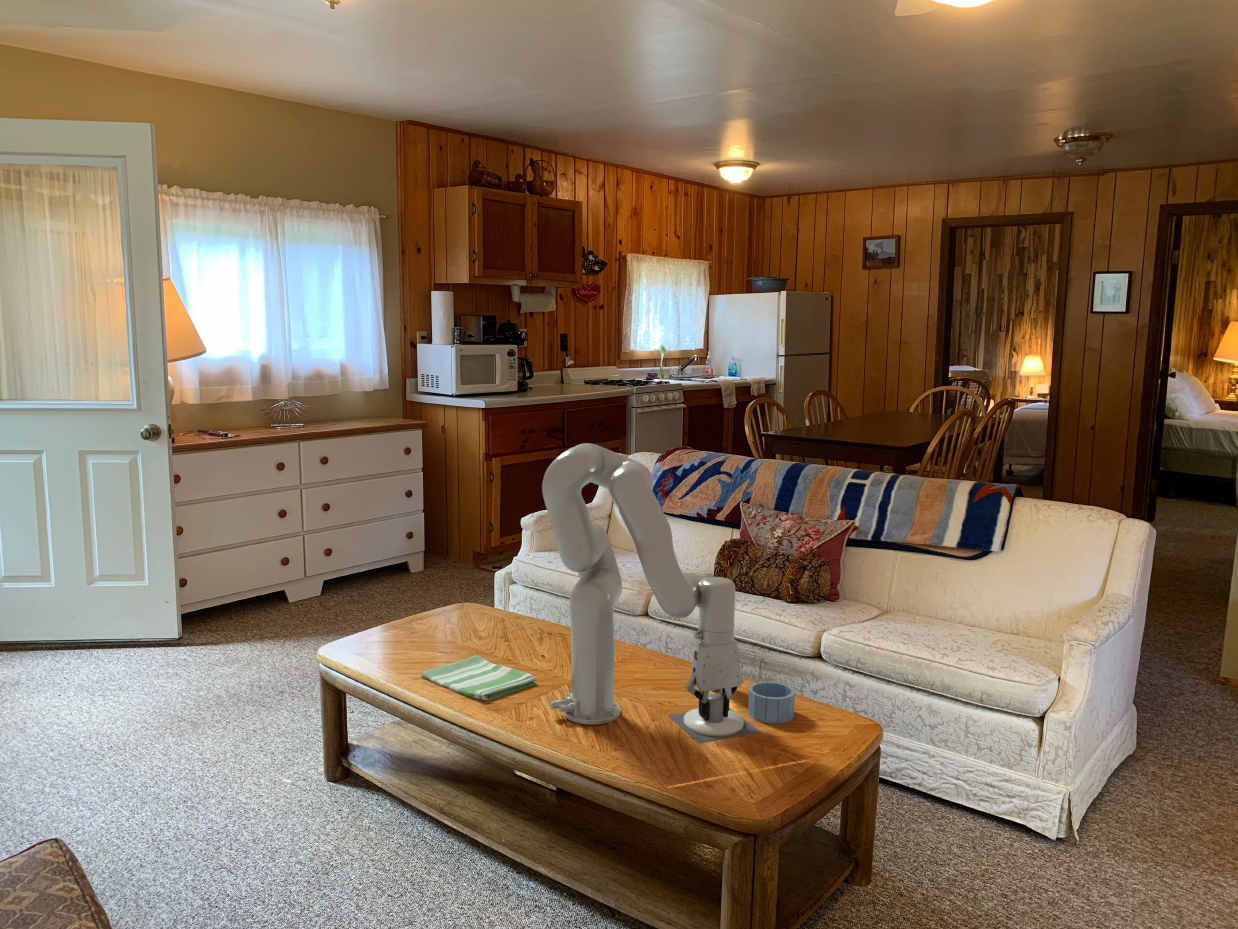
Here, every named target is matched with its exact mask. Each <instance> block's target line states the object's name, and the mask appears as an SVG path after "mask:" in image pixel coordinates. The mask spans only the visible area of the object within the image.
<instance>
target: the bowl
mask: <svg viewBox="0 0 1238 929" xmlns="http://www.w3.org/2000/svg"><path fill="white" fill-rule="evenodd" d="M795 698H796V692H795V688H793V687H792V686H790V685H789V684H785V683H781V682H778V681H768V680H767V681H766V680H765V681H759V682H755V683H752V684H751V685H749V687H748V707H747V708H748V709H747V710H748V712H747V714H748V716H749V717H750V718H751V719H753V720H756V721H757V722H761V723H763V724H764V723H765V724H771V725H772V724H774V725H776V724H785V723H788V722H791V721H792V720H793V719H794V716H795V704H796V703H795V700H796V699H795Z"/></svg>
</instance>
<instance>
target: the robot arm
mask: <svg viewBox="0 0 1238 929" xmlns="http://www.w3.org/2000/svg"><path fill="white" fill-rule="evenodd" d="M589 483H592V484H595V485H596V486H600V487H602V488H605V489H607V490H608V493H609V494H610V497H611V499H612V501H613V503H614V505H615V507H616V510H617V512H618V513H619V514H620V515H619V516H621V519H622V521H623V523H624V525H625V527H626V529H627V531H628V532H629V535H630V537H631V539H632V541H633V543H634V546H635V548H636V553H637V556H638V559H639V560H640V561H639V562H640V564H641V568H642V570H643V573H644V576H645V579H646V580H647V583H648V586H649V587H650V589H651V591H652V593H653V595H654V597H655V599H656V601H657V603H658V604H659V607H660V608H661V610H662V611H664V613H665V614H666V615H668V616H669V617H671V618H674V619H684V618H687V617H688V616H690V615H691V614H692V613H693V612H694V610H695V608H698V610H699V611H698V613H699V614H698V617H699V618H698V627H697V631H696V632H694V633H693V639H694V640H696V641H695V644H694V648H693V652H692V659H691V669H690V678H689V680H688V682H687V683H686V684H685V687H684V690H685V691H686V692H688V693H689V694H691V695H693V696H695V698H697V700H698V708H699V715H700V716H701V717H702V718H703V719H704V720H705V721H707V720H709V707H710V704H709V703H708V702H707V700H708V695H709V694H710V692H714V691H713V690H720V689H721V691H720V695H722V696H723V697H724V703H723V716H724V717H728V711H729V708H730V701H731V699H732V698H733V695H734V693H736V691H737V690H738V688H740V687H741V686H742V685H743V684H744V683H745V680H744V679H743V677H742V676H741V659H740V651H739V650H740V649H739V645H738V641H737V640H736V639H735V638H734V637H735V612H736V611H735V609H736V585H735V582H734V581H733V580H732V579H729V578H727V577H721V576H710V577H707V576H701V575H697V574H693V573H687V572H682V570H681V568H680V566H679V565H680V564H679V562H678V560H677V557H676V553H675V549H674V545H673V544H674V543H673V532H672V528H671V524H670V523H669V521H668V519H667V517H666V515H665V512H664V511H663V509H662V506H661V505H660V503H659V501H658V500H657V497H656V495H655V493H654V490H653V489H652V488H653V475H652V473H651V471H650V469H649V468H648V467H647V466H646V465H645V464H643V463H641V462H640V461H637V460H636V459H633V458H630V457H627V456H625V455H622V454H621V453H618V452H615V451H613V450H610V449H608V448H605V447H603V446H601V445H598V444H594V443H587V442H586V443H580V444H576V445H575V446H574V447H573V446H572V447H570V448H568V449H567V450H565V451H564V452H562V453H560V455H558V456H557V457H556V458H555V459H554V460H553V461H552V462H551V463H550V464H549V466H548V467H547V469H546V470H545V473H544V475H543V480H542V485H541V488H542V490H541V492H542V496H543V500H544V505H545V508H546V511H547V514H548V518H549V521H550V526H551V529H552V532H553V535H554V538H555V542H556V545H557V549H558V550H557V551H558V553H559V557H560V560H561V562H562V564H563V565H564V566H565V567H566V568H567V569H568V570H569V571H571V572H574V573H577V575H578V577H579V579H578V581H577V582H576V583H575V585H574V586H573V588H572V590H571V593H570V595H569V603H568V604H569V606H568V609H569V610H568V611H569V617H570V634H571V635H570V636H571V638H570V641H571V643H570V645H571V661H570V662H571V668H570V669H571V672H570V675H571V677H570V680H571V681H570V684H571V686H570V691H571V692H567V693H566V697H563V699H555V700H550V701H549V708H550V710H552V711H553V710H559V712H560V713H563V715H564V716H565V718H566V719H568V720H569V721H570V722H573V723H577V724H580V725H585V726H586V725H587V726H588V725H590V726H595V725H605V724H608V723H611V722H613V721H615V720H617V719H618V718H619V717H620V716H621V707H620V705H619V704H617V703H616V702H615V701H614V700H615V699H614V698H615V623H614V622H615V620H614V609H615V606H616V603H617V602H618V601H619V599H620V597H621V595H622V592H623V591H622V590H623V580H622V577H621V572H620V568H619V566H618V562H617V559H616V556H615V553H614V549H613V546H612V542H611V539H610V536H609V535H608V533H607V531H606V530H605V529H604V527H602V526H601V525H600V524H598V523H597V522H594V521H591V517H590V515H589V510H588V507H587V504H586V502H585V500H584V498H583V496H582V489H583V488H584V487H585V486H586V485H588V484H589ZM695 686H697V689H696V688H695Z"/></svg>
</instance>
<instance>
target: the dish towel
mask: <svg viewBox="0 0 1238 929" xmlns="http://www.w3.org/2000/svg"><path fill="white" fill-rule="evenodd" d="M420 676H421V678H423V679H425V680H428V681H431V682H432V683H434V684H437V685H439V686H441V687H443V688H445V689H448V690H450V691H452V692H455V693H458V694H460V695H462V696H465V697H469V698H471V699H476V700H480V701H487V702H488V701H491V700H494V699H497V698H499V697H500V698H501V697H502V696H506V695H509V694H512V693H515V692H517V691H520V690H523V689H526V688H529V687H532V686H536V685H537V684H538V683H537V682H536V681H537V677H536V676H534V675H533V674H531V673H528V672H525V671H522V670H519V669H515V668H513V667H509V666H508V667H507V666H504V665H503V664H502V665H501V664H494V663H492V662H490V661H488V660H486V659H485V658H484V657H482V656H481V655H479V654H475V655H472V656H469V657H468V658H465V659H462V660H459V661H458V660H457V661H454V662H450V663H447V664H444V665H440V666H436V667H432V668H431V669H428V670H426V671H424V672H422V673H421V675H420Z"/></svg>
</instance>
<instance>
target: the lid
mask: <svg viewBox="0 0 1238 929" xmlns="http://www.w3.org/2000/svg"><path fill="white" fill-rule="evenodd" d="M707 702H708V703H709V704H710V707H709V720H707V721H705V720H704V719H703V718H702V717H701V716H700V715H699V707H697V708H695V709H691V710H689V711H688V712H687V713H686V712H685V713H686V714H685V715H684V725H685V727H686V728H687V729H689V730H690V731H692V732H695V733H697V734H701V735H706V736H729V735H733V734H736V733H738V732H740V731H741V730H742V729H743V727H744V719H745V718H744V717H742V715H740V713H737V712H736V711H734V710H733V711H731V710H729V711H728V717H724V716H723V703H724V697H723V696H722V695H721V694H718V693H709V695H708V700H707ZM743 718H744V719H743Z"/></svg>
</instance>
